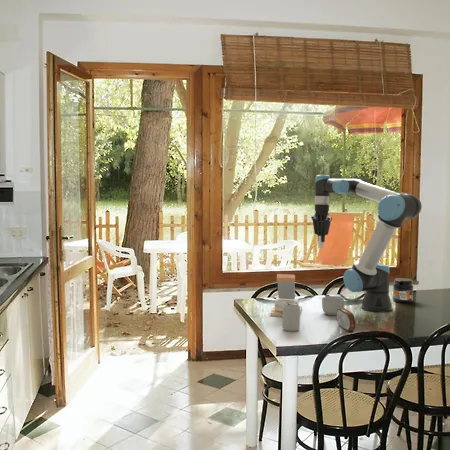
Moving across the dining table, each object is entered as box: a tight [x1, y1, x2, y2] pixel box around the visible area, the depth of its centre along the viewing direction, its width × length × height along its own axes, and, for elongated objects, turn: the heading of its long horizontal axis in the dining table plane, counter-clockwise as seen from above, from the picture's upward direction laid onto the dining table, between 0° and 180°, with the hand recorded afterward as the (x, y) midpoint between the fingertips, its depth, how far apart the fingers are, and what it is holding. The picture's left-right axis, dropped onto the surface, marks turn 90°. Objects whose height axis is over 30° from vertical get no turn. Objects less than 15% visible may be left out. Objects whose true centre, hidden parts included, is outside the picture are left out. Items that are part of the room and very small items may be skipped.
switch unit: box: [269, 296, 303, 318], centre depth 274 cm, size 18×14×6 cm
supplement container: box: [392, 277, 414, 304], centre depth 301 cm, size 10×10×12 cm
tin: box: [336, 307, 357, 332], centre depth 245 cm, size 15×3×8 cm, turn 12°
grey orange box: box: [276, 273, 296, 299], centre depth 270 cm, size 3×9×14 cm
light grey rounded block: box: [321, 295, 345, 316], centre depth 273 cm, size 14×11×8 cm
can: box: [282, 302, 301, 333], centre depth 243 cm, size 8×8×12 cm
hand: (320, 247), depth 296 cm, fingers closed
